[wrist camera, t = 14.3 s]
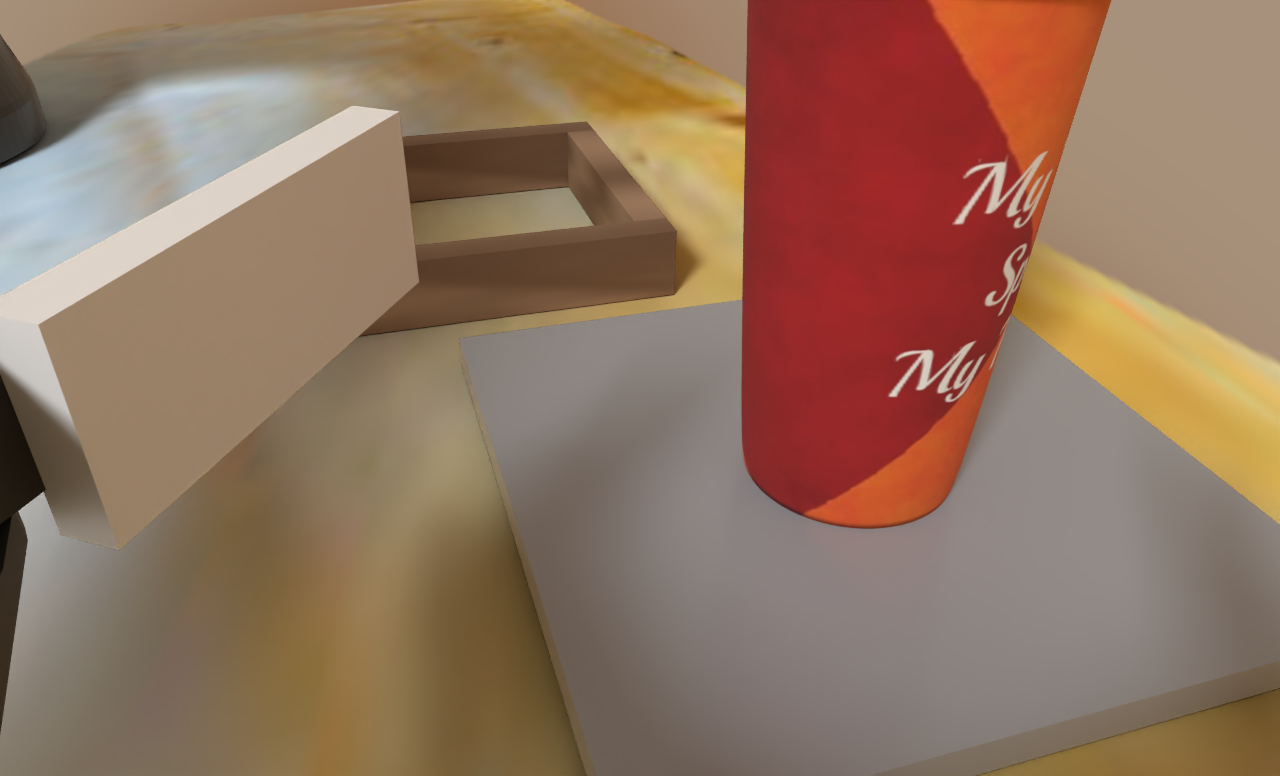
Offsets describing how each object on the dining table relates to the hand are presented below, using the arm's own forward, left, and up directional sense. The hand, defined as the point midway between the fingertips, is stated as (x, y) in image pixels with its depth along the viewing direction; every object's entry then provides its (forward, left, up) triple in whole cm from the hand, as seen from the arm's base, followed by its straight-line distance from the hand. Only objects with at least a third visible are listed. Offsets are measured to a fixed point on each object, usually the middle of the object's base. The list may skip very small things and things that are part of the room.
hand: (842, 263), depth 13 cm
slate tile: (-8, +6, -11) cm, 15 cm away
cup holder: (-26, -1, -11) cm, 28 cm away
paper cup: (-8, +6, -10) cm, 14 cm away
